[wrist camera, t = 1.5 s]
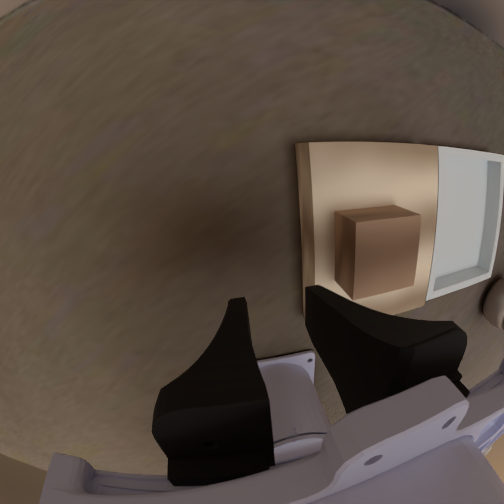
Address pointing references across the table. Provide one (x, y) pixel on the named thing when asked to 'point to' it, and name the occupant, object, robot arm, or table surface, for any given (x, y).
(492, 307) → the plastic bottle
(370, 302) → the tan wooden flat block
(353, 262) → the brown block
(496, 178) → the box
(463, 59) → the table surface
